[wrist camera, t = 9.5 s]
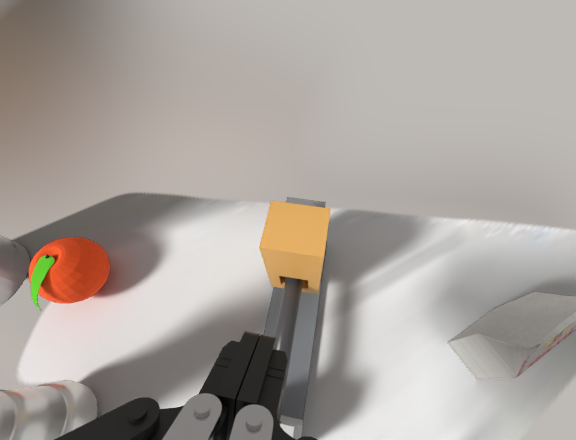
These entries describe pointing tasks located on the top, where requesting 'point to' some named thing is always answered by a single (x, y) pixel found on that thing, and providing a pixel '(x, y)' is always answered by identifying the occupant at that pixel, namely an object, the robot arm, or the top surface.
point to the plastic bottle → (45, 410)
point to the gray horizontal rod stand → (294, 340)
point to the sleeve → (295, 243)
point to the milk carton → (515, 335)
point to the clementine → (68, 270)
